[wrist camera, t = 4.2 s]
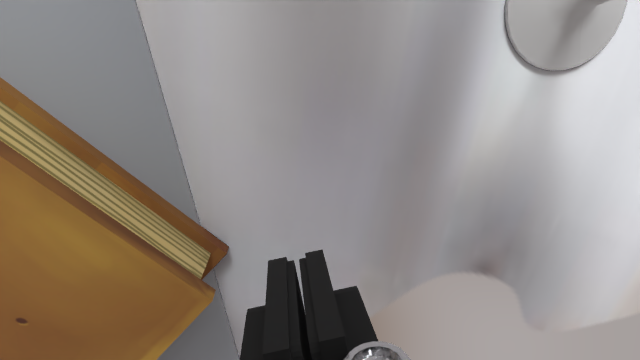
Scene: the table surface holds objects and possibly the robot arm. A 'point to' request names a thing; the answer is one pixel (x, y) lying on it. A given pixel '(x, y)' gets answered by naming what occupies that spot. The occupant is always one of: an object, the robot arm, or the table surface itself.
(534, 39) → the wineglass
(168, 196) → the display board
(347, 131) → the table surface
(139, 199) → the diary
